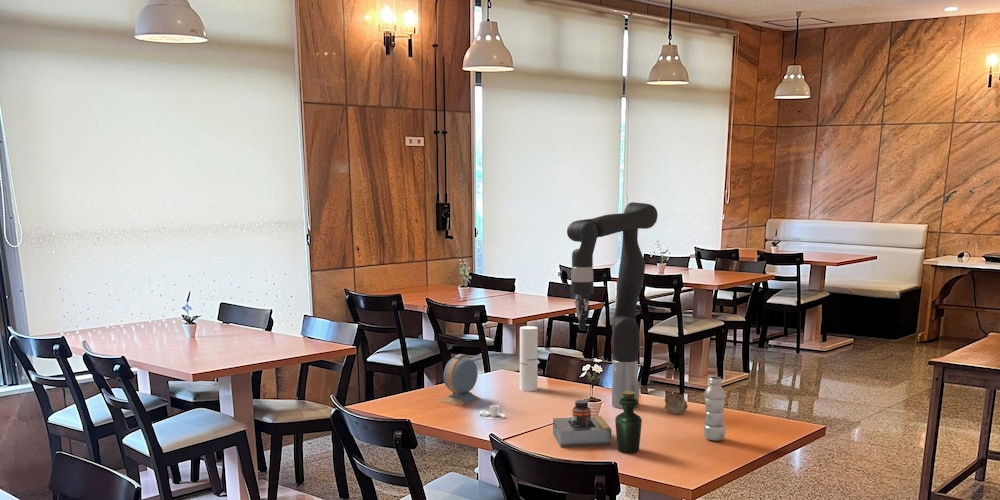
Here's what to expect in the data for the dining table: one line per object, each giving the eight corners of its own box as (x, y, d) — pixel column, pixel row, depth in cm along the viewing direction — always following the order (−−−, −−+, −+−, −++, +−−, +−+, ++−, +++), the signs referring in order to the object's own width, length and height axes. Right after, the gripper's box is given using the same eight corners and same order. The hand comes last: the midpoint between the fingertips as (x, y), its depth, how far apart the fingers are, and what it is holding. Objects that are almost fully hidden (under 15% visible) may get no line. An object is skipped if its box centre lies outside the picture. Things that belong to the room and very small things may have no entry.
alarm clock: (462, 394, 301) (462, 349, 300) (482, 398, 296) (482, 352, 294) (438, 402, 290) (438, 356, 288) (459, 406, 284) (458, 359, 283)
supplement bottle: (592, 434, 247) (592, 399, 247) (588, 439, 242) (588, 404, 241) (574, 432, 249) (574, 398, 249) (570, 437, 244) (570, 402, 243)
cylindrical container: (537, 391, 306) (537, 329, 304) (519, 391, 306) (519, 329, 304) (537, 386, 313) (537, 326, 311) (519, 386, 313) (519, 326, 311)
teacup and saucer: (476, 417, 272) (476, 405, 272) (491, 412, 278) (491, 401, 277) (494, 422, 266) (494, 410, 266) (509, 417, 272) (509, 405, 271)
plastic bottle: (721, 444, 240) (723, 381, 239) (700, 440, 244) (701, 378, 243) (727, 438, 246) (728, 377, 244) (706, 435, 249) (707, 374, 248)
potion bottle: (624, 456, 230) (624, 397, 228) (609, 448, 237) (610, 390, 236) (647, 452, 233) (647, 394, 232) (632, 444, 240) (632, 388, 239)
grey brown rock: (660, 415, 275) (681, 417, 270) (658, 395, 275) (679, 397, 270) (671, 408, 282) (691, 409, 278) (669, 389, 282) (690, 390, 277)
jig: (600, 431, 253) (601, 415, 253) (611, 445, 239) (611, 427, 239) (553, 433, 252) (553, 416, 251) (560, 447, 238) (560, 429, 237)
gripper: (597, 281, 255) (597, 333, 256) (588, 277, 268) (588, 326, 269) (575, 282, 254) (575, 333, 256) (567, 278, 267) (567, 327, 269)
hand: (582, 330), depth 263 cm, fingers closed
